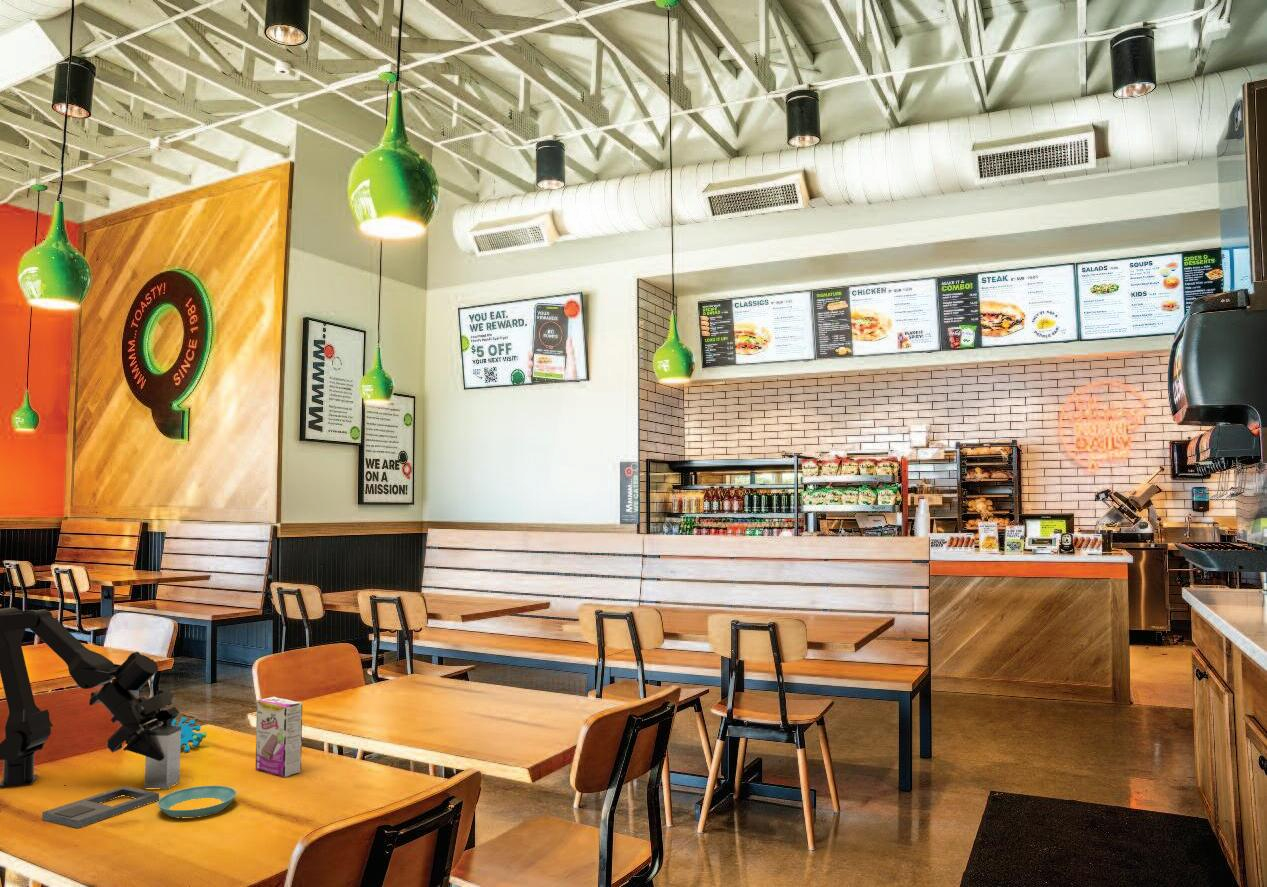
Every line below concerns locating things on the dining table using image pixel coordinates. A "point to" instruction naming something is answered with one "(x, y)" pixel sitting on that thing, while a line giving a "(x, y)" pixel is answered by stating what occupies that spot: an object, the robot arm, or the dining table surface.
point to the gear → (189, 733)
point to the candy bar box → (279, 736)
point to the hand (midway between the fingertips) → (169, 755)
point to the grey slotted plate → (97, 807)
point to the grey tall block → (169, 767)
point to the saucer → (196, 793)
